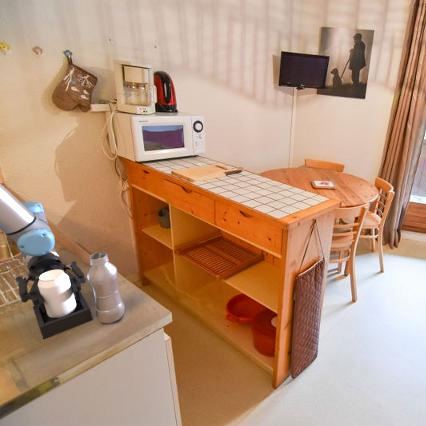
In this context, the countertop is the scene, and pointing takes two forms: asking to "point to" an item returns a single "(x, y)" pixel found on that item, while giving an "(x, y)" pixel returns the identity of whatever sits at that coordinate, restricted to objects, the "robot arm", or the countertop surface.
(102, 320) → the plastic bottle
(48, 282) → the beverage can
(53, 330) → the black tray
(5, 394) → the countertop surface
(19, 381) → the countertop surface
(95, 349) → the countertop surface
